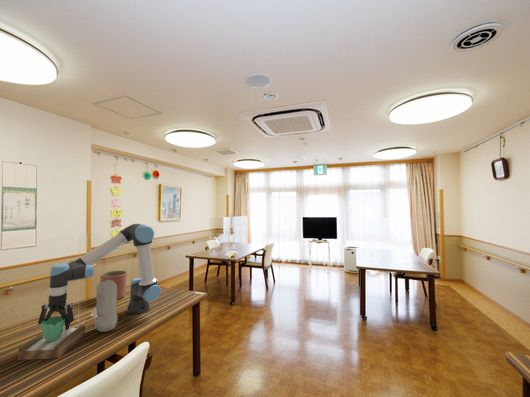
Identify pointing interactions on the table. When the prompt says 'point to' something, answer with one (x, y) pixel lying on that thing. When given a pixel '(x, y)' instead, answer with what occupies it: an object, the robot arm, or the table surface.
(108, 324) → the sculpture
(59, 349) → the brown rectangular tray
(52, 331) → the mug
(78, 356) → the table surface
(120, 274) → the planter
